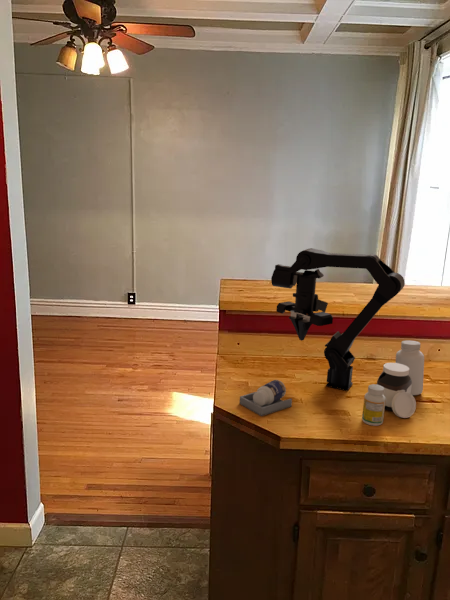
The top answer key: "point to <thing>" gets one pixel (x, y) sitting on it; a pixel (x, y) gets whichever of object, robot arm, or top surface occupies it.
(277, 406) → the tray
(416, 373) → the pill bottle
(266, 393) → the pill bottle
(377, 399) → the supplement bottle
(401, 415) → the spread jar
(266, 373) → the top surface
